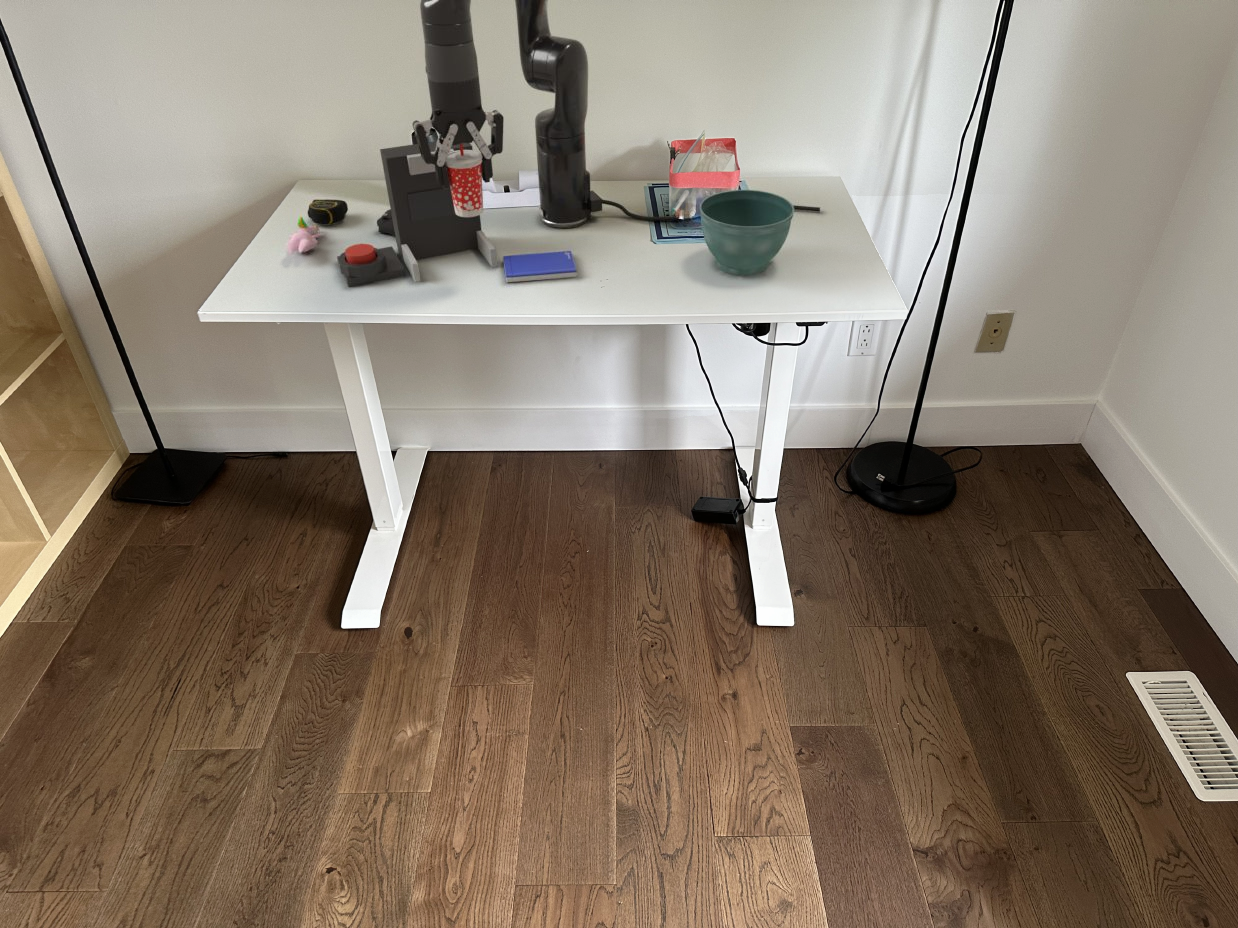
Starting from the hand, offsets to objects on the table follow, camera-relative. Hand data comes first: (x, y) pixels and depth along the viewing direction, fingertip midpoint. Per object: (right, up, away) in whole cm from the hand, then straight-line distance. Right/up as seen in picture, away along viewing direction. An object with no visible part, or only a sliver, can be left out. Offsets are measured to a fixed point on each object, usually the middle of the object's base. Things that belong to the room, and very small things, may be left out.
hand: (465, 183), depth 138 cm
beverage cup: (0, -4, +3) cm, 5 cm away
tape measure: (-33, +4, +34) cm, 48 cm away
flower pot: (+47, -9, +18) cm, 51 cm away
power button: (-21, -9, +14) cm, 26 cm away
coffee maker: (-7, -7, +20) cm, 23 cm away
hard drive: (+10, -10, +17) cm, 22 cm away
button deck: (-20, -10, +17) cm, 28 cm away
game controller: (-18, +1, +31) cm, 36 cm away
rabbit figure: (-34, -5, +24) cm, 42 cm away
